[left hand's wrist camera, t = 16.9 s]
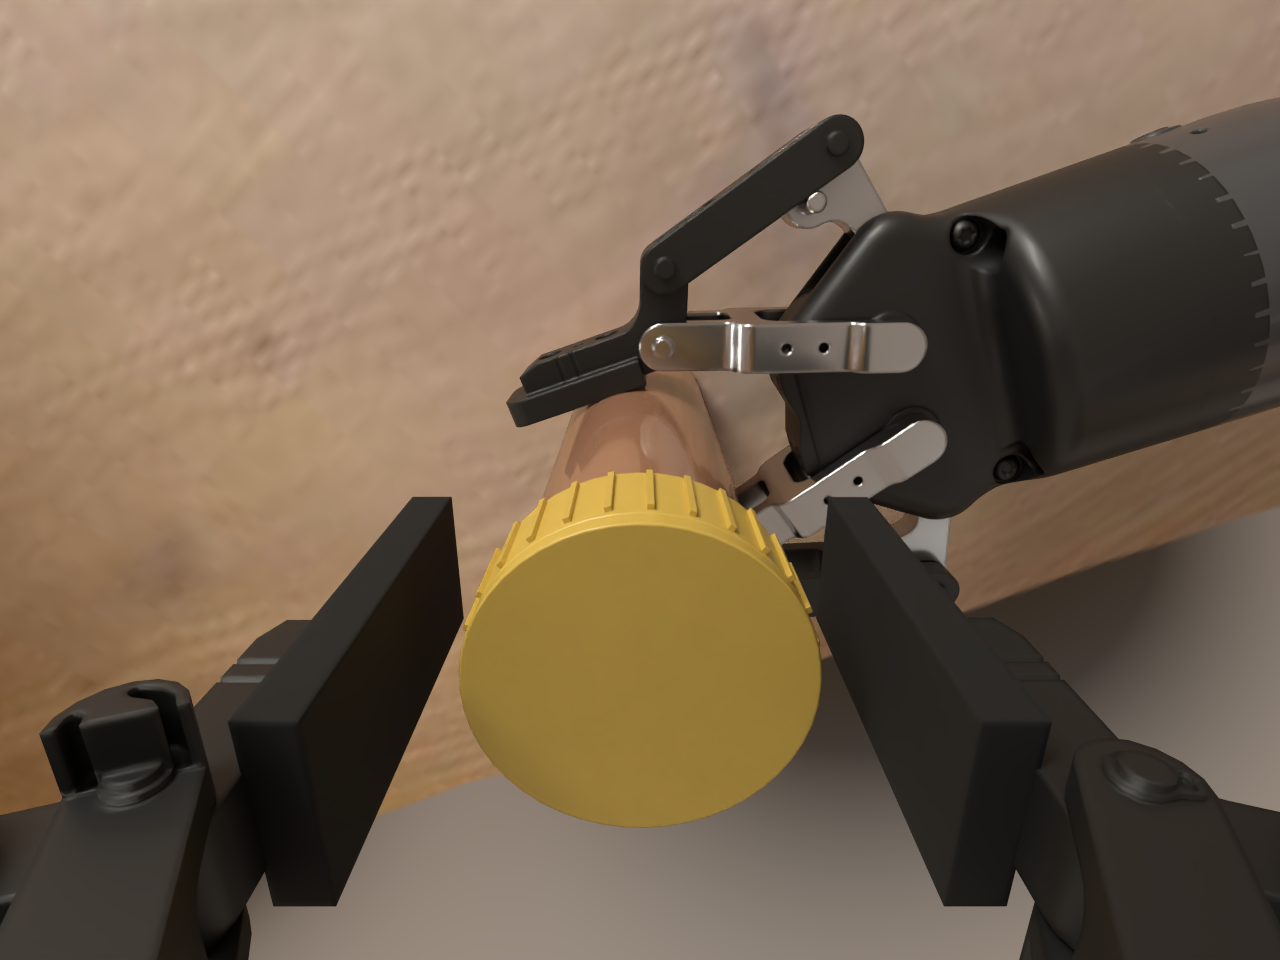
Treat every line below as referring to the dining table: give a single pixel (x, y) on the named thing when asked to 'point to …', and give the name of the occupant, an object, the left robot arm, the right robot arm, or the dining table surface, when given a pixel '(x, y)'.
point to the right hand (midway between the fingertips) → (552, 490)
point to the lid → (640, 653)
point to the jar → (644, 436)
